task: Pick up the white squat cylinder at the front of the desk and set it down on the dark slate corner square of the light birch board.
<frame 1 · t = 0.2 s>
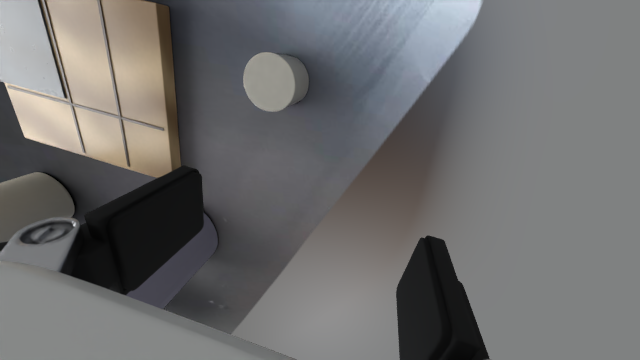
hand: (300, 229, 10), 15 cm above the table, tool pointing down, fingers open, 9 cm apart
travel mug: (56, 194, 38), on the table
white squat cylinder: (286, 80, 23), on the table
container: (186, 227, 34), on the table
board: (91, 83, 28), on the table
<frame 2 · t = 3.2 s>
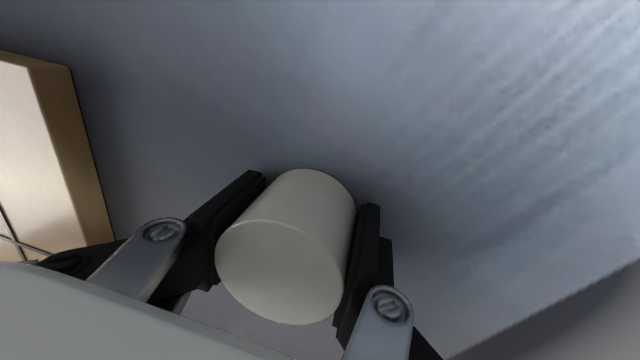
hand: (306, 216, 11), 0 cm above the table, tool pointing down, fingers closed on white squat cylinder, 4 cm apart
white squat cylinder: (309, 212, 11), on the table, touching gripper
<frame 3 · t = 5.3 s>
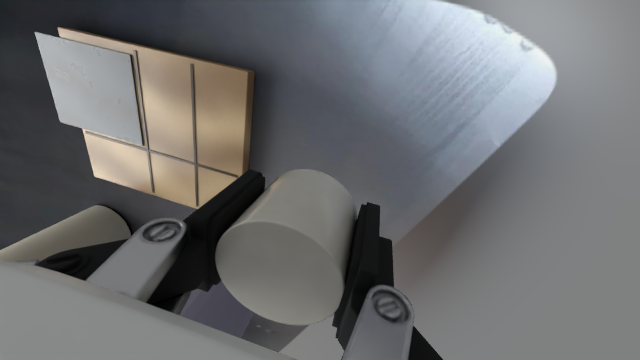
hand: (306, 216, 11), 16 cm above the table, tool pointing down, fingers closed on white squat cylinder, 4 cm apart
travel mug: (112, 225, 40), on the table
white squat cylinder: (309, 212, 11), point 15 cm above the table, touching gripper
container: (243, 259, 36), on the table
board: (166, 130, 30), on the table
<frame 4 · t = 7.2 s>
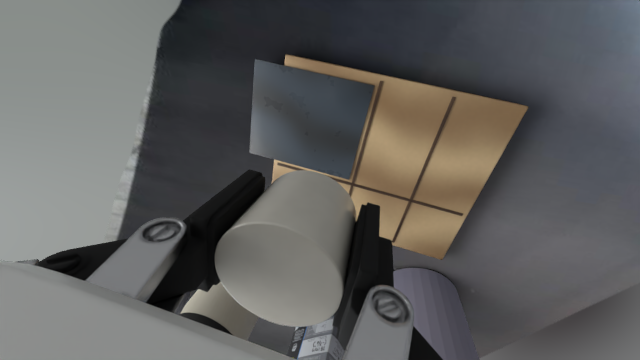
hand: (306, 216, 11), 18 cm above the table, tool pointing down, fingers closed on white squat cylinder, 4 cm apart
blue product box: (321, 326, 42), on the table
travel mug: (261, 253, 38), on the table
white squat cylinder: (309, 213, 11), point 17 cm above the table, touching gripper
container: (416, 293, 34), on the table
board: (372, 162, 28), on the table
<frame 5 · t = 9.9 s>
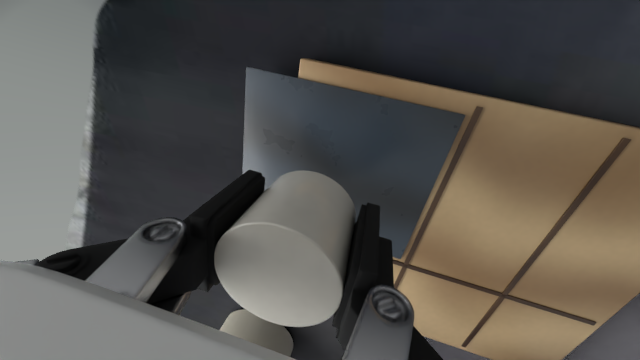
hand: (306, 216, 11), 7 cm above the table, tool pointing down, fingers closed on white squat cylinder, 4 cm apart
travel mug: (261, 330, 28), on the table
white squat cylinder: (308, 213, 11), point 6 cm above the table, touching gripper
board: (437, 230, 17), on the table
when the fingers open (2 cm above the table, at t = 11.4 s): white squat cylinder stays where it is, resting on board.
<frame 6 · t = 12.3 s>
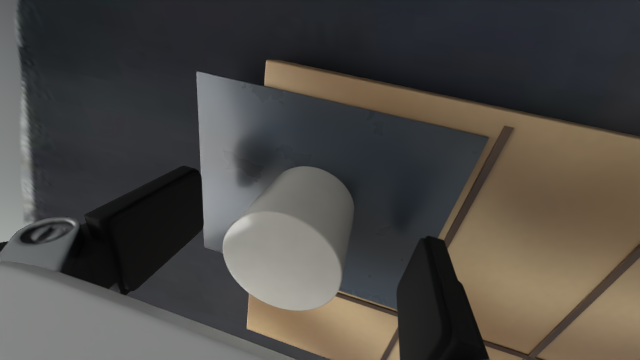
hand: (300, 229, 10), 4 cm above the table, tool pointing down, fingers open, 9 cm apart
white squat cylinder: (309, 207, 12), point 2 cm above the table, touching board
board: (445, 273, 14), on the table
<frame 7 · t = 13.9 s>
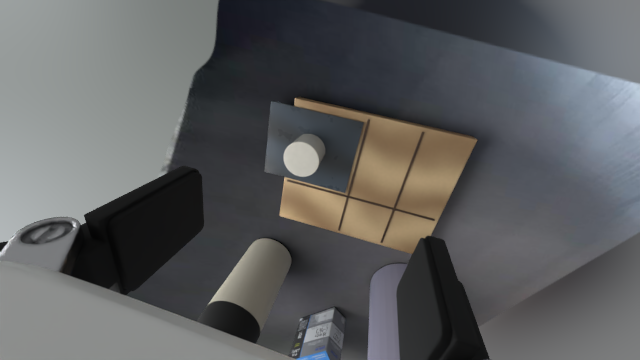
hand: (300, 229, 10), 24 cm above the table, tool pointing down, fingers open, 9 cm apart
blue product box: (322, 317, 48), on the table
travel mug: (271, 254, 44), on the table
white squat cylinder: (309, 150, 33), point 2 cm above the table, touching board
container: (401, 285, 41), on the table
board: (363, 179, 35), on the table
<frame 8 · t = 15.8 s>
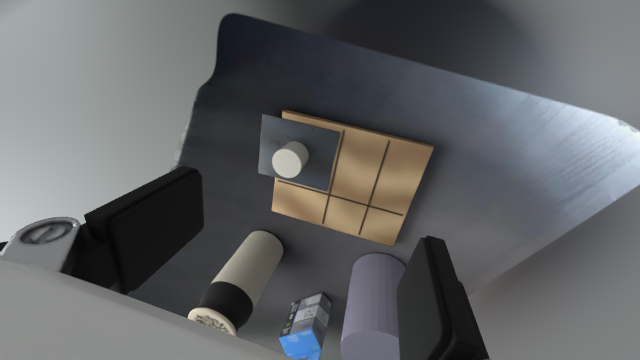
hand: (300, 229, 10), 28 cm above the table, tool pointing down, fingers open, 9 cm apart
blue product box: (312, 301, 54), on the table
travel mug: (266, 245, 50), on the table
white squat cylinder: (295, 154, 38), point 2 cm above the table, touching board
container: (379, 272, 47), on the table
board: (342, 179, 40), on the table
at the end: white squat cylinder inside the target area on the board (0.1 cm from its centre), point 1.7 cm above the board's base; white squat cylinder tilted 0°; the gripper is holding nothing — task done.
